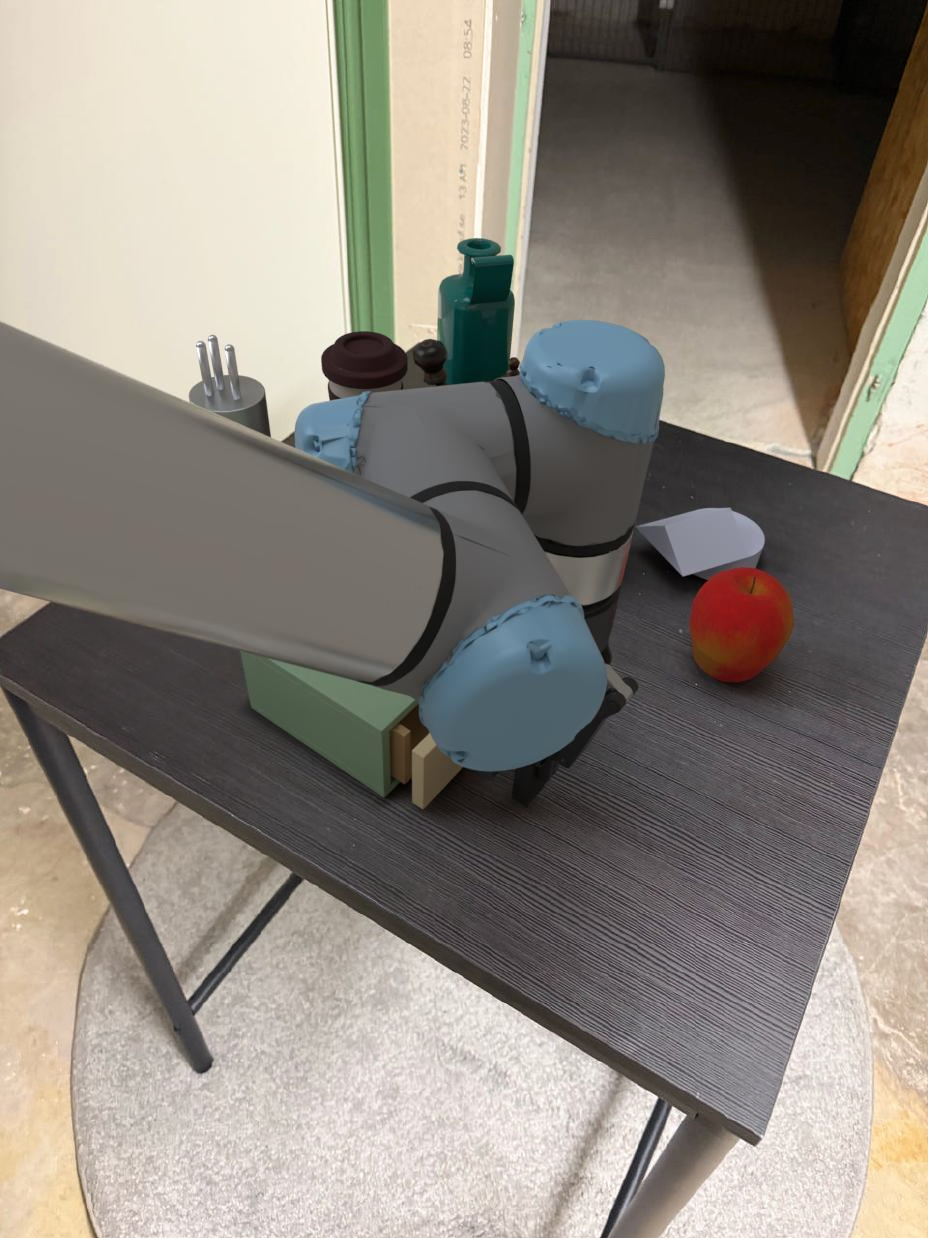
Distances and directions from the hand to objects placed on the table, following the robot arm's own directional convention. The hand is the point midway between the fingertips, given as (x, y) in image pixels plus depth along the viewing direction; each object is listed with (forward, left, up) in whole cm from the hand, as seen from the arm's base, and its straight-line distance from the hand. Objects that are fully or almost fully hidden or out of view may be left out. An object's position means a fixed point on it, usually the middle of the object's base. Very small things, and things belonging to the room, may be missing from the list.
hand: (528, 792), depth 71 cm
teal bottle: (+49, +42, -2) cm, 64 cm away
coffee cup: (+31, +45, -2) cm, 54 cm away
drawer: (0, +11, -1) cm, 11 cm away
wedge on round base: (+39, +3, -2) cm, 39 cm away
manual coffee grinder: (+35, +30, -2) cm, 46 cm away
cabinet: (0, +18, -2) cm, 18 cm away
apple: (+25, -6, -2) cm, 26 cm away
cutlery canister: (+6, +38, -1) cm, 39 cm away
